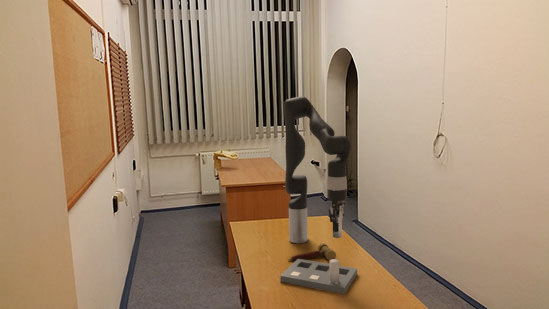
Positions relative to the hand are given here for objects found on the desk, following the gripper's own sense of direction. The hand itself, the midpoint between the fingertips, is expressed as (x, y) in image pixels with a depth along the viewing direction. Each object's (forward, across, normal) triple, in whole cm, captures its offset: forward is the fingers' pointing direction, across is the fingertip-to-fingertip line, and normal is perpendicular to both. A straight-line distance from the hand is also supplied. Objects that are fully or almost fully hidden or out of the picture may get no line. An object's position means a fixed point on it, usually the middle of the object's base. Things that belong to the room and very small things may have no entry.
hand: (337, 229), depth 160 cm
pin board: (+20, +3, -7) cm, 21 cm away
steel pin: (+3, 0, 0) cm, 3 cm away
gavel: (+20, -14, -17) cm, 30 cm away
